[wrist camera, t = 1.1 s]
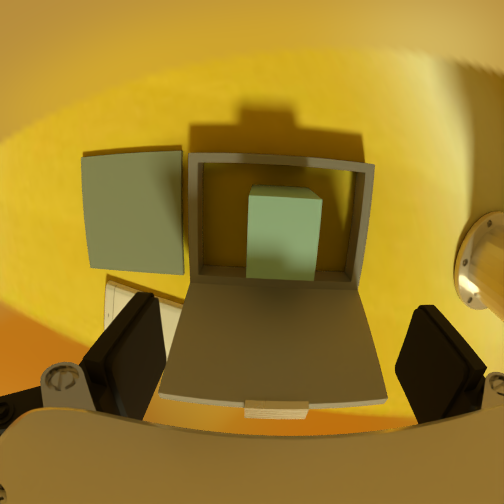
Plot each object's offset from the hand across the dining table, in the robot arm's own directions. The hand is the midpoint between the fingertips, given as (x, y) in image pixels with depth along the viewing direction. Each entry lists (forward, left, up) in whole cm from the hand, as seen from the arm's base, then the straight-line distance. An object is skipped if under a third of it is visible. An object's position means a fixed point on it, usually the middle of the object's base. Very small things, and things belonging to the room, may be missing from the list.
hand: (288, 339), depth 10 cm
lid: (0, +7, -10) cm, 12 cm away
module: (0, 0, -18) cm, 18 cm away
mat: (+14, 0, -18) cm, 23 cm away
